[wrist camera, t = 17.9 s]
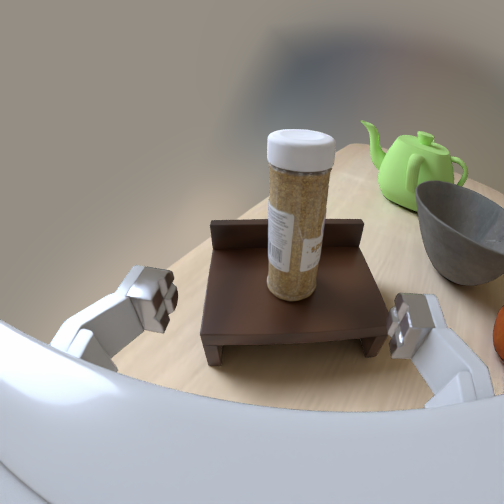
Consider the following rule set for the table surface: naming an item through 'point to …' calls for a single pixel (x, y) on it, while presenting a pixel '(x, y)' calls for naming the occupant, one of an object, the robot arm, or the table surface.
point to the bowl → (461, 232)
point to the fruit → (499, 333)
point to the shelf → (282, 311)
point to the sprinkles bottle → (297, 209)
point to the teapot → (411, 165)
